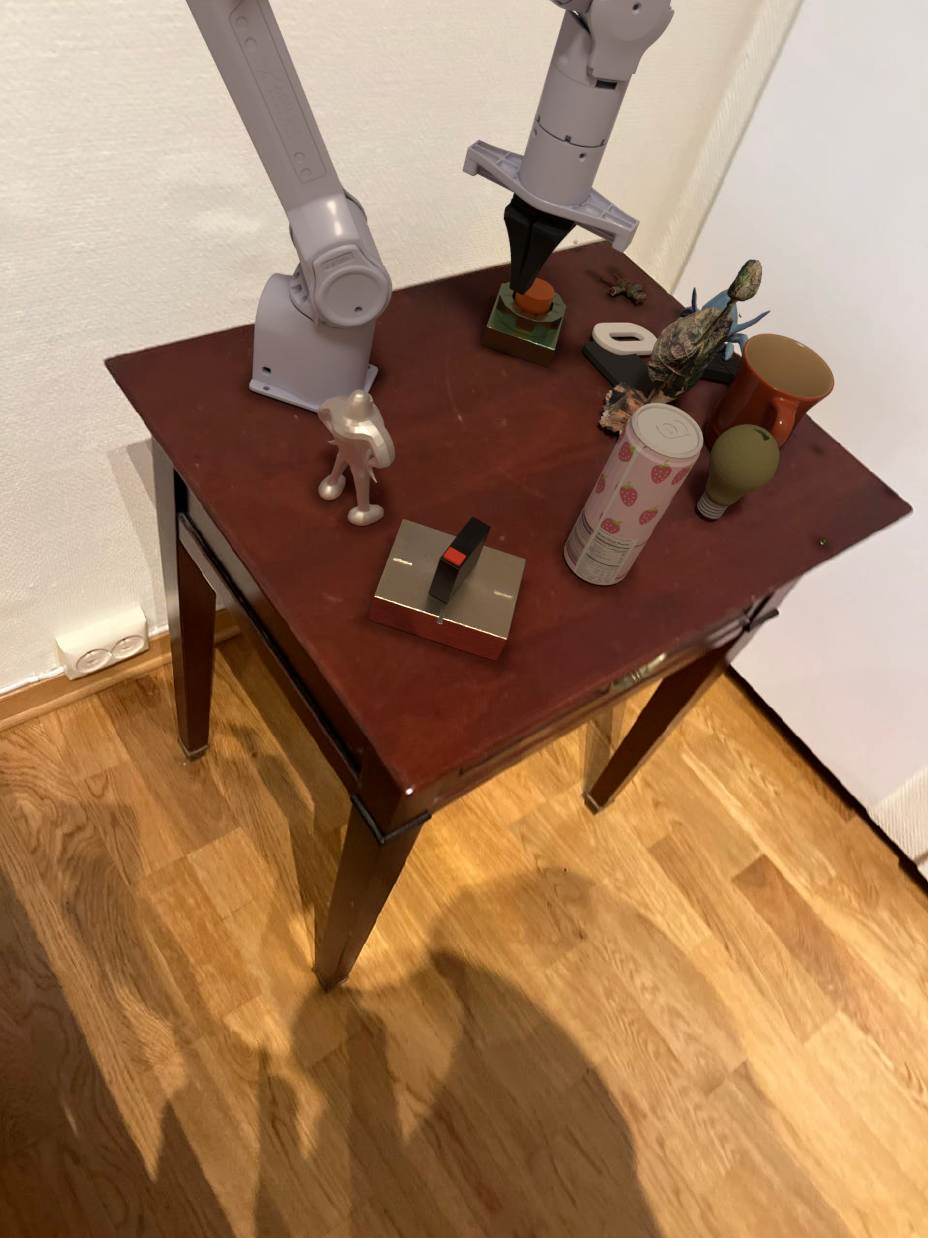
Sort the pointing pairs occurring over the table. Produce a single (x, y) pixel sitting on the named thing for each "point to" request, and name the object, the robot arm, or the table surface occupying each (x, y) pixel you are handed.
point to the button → (536, 297)
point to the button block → (523, 328)
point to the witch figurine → (625, 287)
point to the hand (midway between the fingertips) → (520, 286)
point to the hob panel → (472, 611)
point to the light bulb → (738, 467)
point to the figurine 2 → (723, 363)
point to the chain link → (608, 330)
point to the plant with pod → (682, 353)
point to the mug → (771, 388)
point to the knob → (459, 559)
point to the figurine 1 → (356, 450)
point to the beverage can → (633, 492)
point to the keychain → (621, 368)
